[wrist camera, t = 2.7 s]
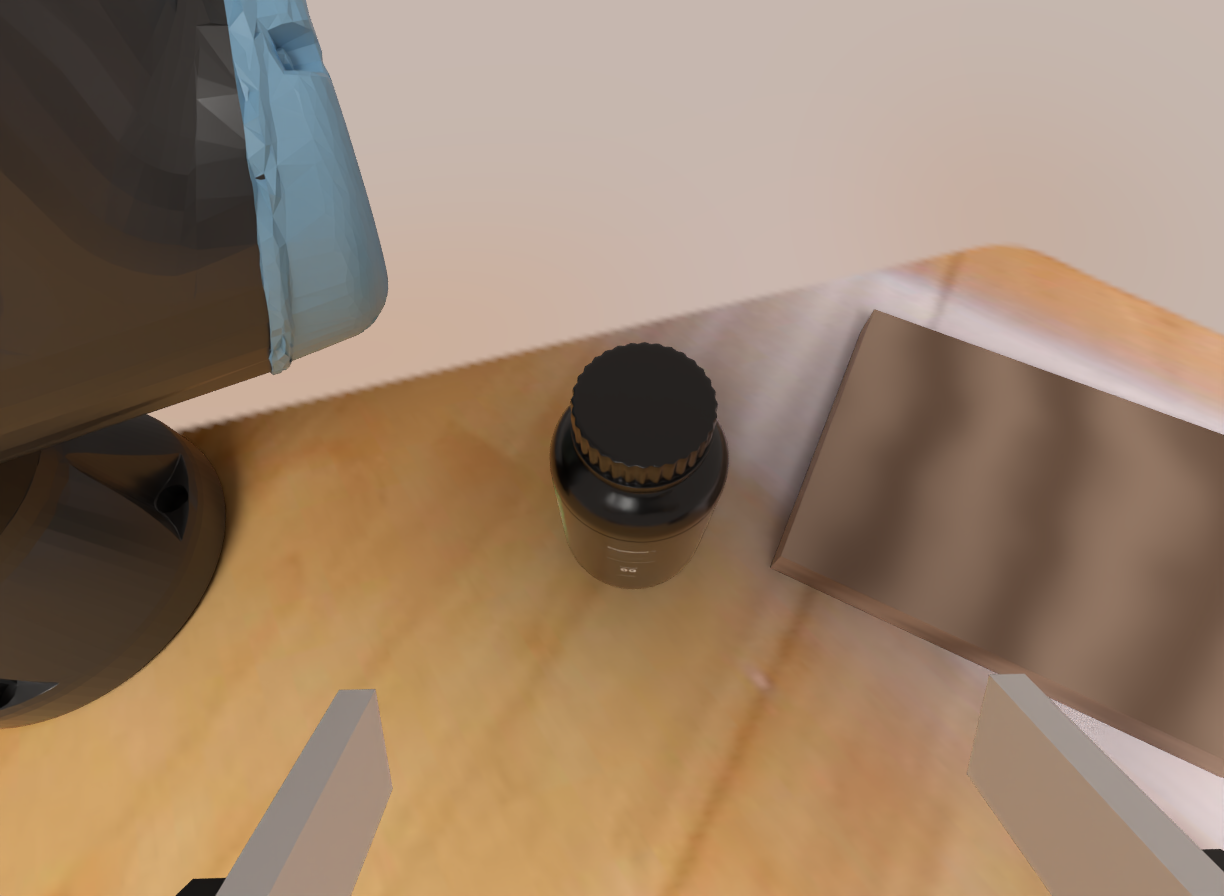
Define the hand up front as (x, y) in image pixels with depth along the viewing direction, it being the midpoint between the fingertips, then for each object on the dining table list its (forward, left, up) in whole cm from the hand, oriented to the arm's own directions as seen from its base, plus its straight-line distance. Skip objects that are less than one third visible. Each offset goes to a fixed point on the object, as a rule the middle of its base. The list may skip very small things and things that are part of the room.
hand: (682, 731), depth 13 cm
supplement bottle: (-5, +8, -14) cm, 17 cm away
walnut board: (+12, +17, -14) cm, 26 cm away
